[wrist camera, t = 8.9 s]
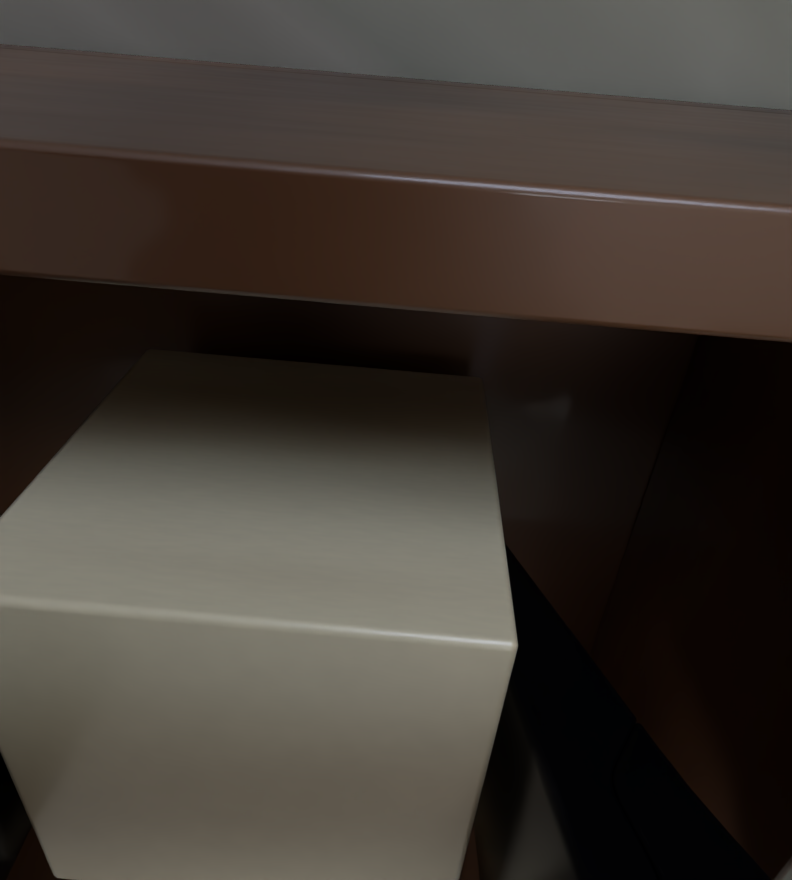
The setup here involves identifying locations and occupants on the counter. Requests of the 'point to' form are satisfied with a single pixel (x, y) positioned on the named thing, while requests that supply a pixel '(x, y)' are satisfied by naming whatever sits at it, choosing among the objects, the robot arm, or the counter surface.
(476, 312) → the chest
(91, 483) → the block
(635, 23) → the counter surface
